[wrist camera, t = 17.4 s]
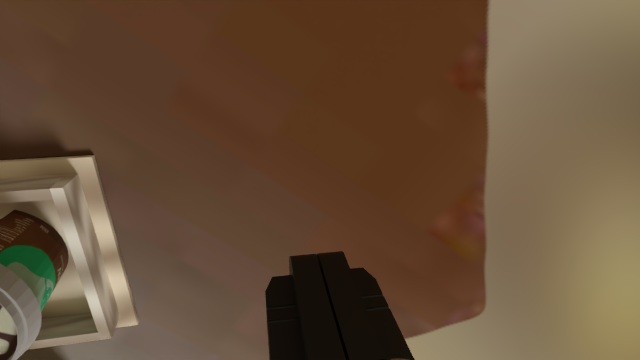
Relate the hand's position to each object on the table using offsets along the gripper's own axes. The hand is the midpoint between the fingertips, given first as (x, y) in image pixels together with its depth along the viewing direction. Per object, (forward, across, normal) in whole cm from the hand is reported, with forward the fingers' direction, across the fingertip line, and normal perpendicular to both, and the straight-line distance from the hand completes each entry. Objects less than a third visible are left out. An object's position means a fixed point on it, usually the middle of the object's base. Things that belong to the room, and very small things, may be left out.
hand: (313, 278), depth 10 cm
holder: (+25, +24, +15) cm, 38 cm away
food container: (+25, +22, +16) cm, 37 cm away
